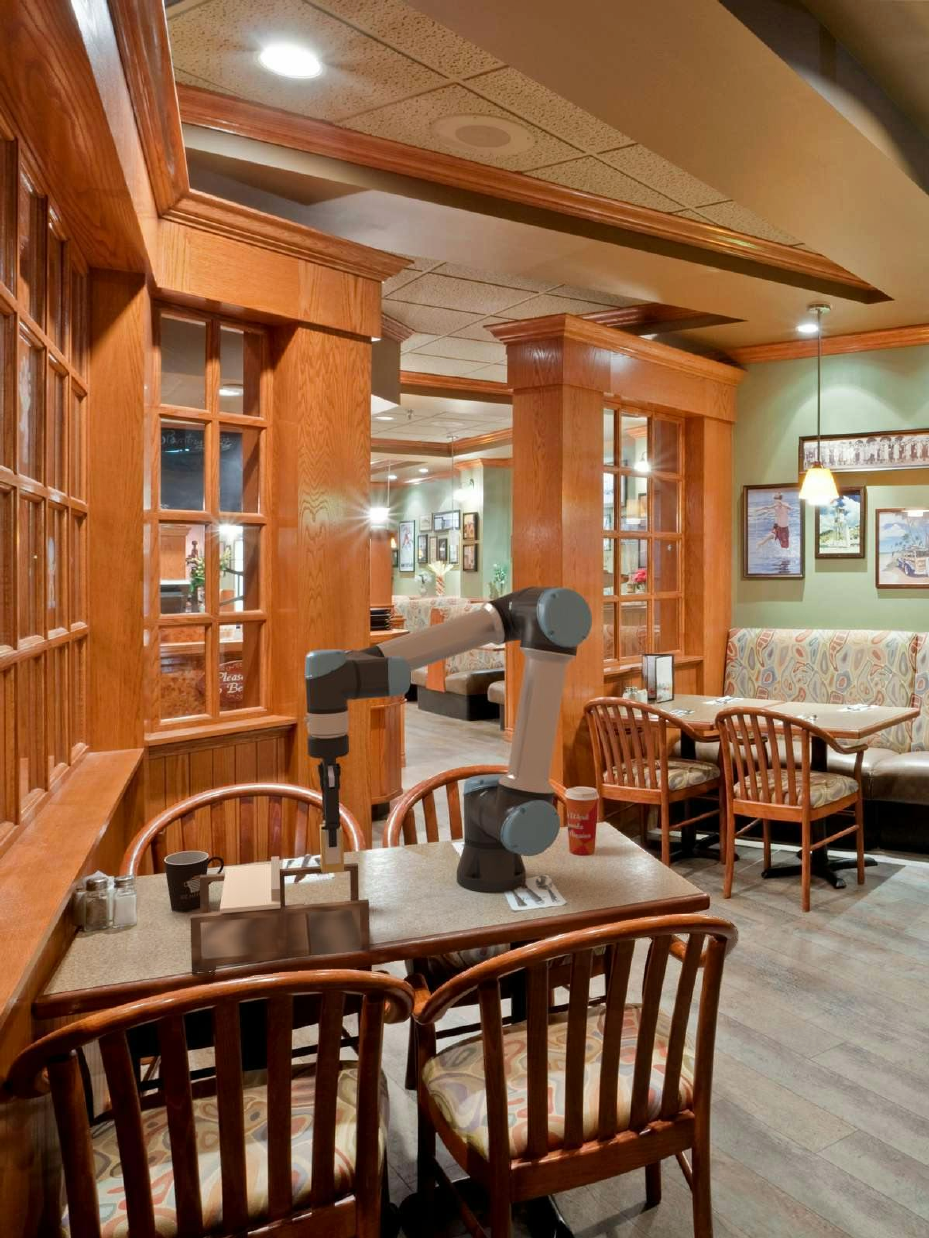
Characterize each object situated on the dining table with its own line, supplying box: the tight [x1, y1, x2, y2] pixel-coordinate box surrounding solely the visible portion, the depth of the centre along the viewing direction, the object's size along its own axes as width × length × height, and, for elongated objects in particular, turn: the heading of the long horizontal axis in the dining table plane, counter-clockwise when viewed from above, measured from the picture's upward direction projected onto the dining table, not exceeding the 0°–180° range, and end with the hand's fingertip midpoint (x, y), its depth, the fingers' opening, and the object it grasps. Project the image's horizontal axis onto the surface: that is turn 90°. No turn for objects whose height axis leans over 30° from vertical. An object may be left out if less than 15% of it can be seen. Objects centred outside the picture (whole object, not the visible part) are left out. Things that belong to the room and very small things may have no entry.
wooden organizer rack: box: [189, 862, 371, 975], centre depth 163 cm, size 30×22×10 cm
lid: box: [219, 855, 280, 913], centre depth 161 cm, size 10×22×3 cm, turn 12°
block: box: [319, 822, 345, 875], centre depth 164 cm, size 4×4×8 cm
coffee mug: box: [163, 850, 225, 913], centre depth 180 cm, size 12×9×10 cm
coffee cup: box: [564, 786, 600, 857], centre depth 212 cm, size 8×8×15 cm
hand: (332, 858), depth 164 cm, fingers closed on block, 4 cm apart
